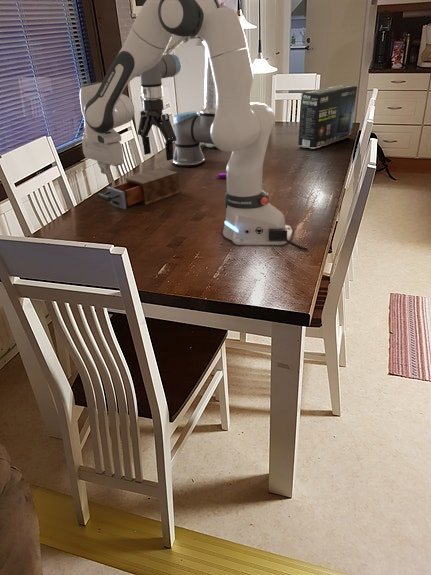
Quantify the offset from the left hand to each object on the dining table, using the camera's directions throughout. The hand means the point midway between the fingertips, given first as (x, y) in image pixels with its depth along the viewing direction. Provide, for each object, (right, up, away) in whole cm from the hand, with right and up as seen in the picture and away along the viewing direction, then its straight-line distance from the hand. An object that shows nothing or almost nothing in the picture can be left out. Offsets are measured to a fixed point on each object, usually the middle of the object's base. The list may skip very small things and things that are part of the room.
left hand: (158, 156), depth 179 cm
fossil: (+21, +26, +70) cm, 78 cm away
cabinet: (-2, -14, +5) cm, 15 cm away
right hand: (-17, -10, -15) cm, 25 cm away
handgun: (+29, -6, +16) cm, 34 cm away
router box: (+81, +26, +66) cm, 108 cm away
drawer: (-11, -18, -3) cm, 22 cm away
